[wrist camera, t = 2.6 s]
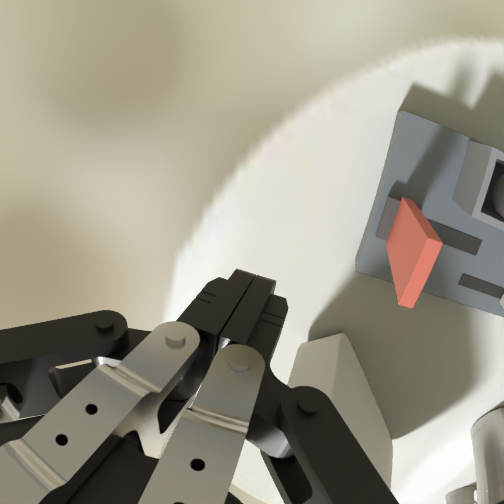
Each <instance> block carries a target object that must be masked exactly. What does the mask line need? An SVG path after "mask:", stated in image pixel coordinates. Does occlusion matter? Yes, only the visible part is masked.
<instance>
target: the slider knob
mask: <svg viewBox="0 0 504 504" xmlns="http://www.w3.org/2000/svg"><path fill="white" fill-rule="evenodd" d="M499 302H500V303H501V305H502V307H503V308H504V294H503V296H502V298H501V299H500V301H499Z"/></svg>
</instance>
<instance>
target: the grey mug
mask: <svg viewBox="0 0 504 504" xmlns="http://www.w3.org/2000/svg"><path fill="white" fill-rule="evenodd" d="M474 490H475V487H474V486H467V487H463V488H459V489H456V490H454V491H451V492H450V493H448V494H447V495H446V496H445V498H446V501H447V502H446V504H478V503H477V502H476V501H474Z"/></svg>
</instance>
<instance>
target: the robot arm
mask: <svg viewBox="0 0 504 504" xmlns="http://www.w3.org/2000/svg"><path fill="white" fill-rule="evenodd" d="M275 286H276V281H275V280H272V279H269V278H265V277H262V276H259V275H257V276H256V275H255V274H252V273H249V272H246V271H243V270H239V269H236V270H235V271H234V273H233V274H232V275H231V277H230V278H229V279H228V280H226V279H223V278H220V277H219V278H216V279H214V280H212V281H210V282H208V283H207V284H206V286H205V287H204V288H203V289H202V291H201V292H200V293H199V294H198V295H197V296H196V299H194V300H193V301H192V302H191V304H190V305H189V306H188V307H187V308H186V310H185V311H184V312H183V313H182V314H181V316H180V317H179V318H178V319H177V320H176V321H172V322H166V323H163V324H161V325H159V326H158V327H157V328H155V329H154V330H153V331H143V330H137V329H131V328H128V326H127V321H126V319H125V318H124V317H123V316H122V315H121V314H119V313H118V312H115V311H111V310H103V311H97V312H92V313H87V314H82V315H77V316H72V317H67V318H62V319H57V320H52V321H46V322H41V323H36V324H31V325H25V326H20V327H14V328H9V329H3V330H0V504H243V503H242V502H240V500H239V499H238V498H237V497H235V496H234V495H233V494H232V493H230V492H229V491H228V490H229V487H230V484H231V481H232V478H233V475H234V472H235V469H236V466H237V463H238V460H239V457H240V453H241V450H242V447H243V444H244V440H245V439H246V440H248V441H249V442H251V443H252V444H254V445H255V446H256V447H258V448H259V449H260V452H261V455H262V458H263V460H264V462H265V464H266V466H267V468H268V470H269V472H270V475H271V477H272V479H273V481H274V483H275V485H276V487H277V489H278V491H279V493H280V495H281V497H282V499H283V501H284V503H285V504H399V503H398V501H397V500H396V498H395V497H394V495H393V494H392V492H391V491H390V489H389V488H388V486H387V485H386V483H385V482H384V480H383V479H382V477H381V476H380V474H379V473H378V471H377V470H376V468H375V467H374V465H373V464H372V462H371V461H370V459H369V458H368V456H367V455H366V453H365V452H364V450H363V449H362V447H361V446H360V444H359V443H358V441H357V440H356V438H355V436H354V435H353V433H352V432H351V430H350V429H349V427H348V426H347V424H346V423H345V421H344V420H343V418H342V417H341V415H340V413H339V412H338V410H337V409H336V407H335V406H334V404H333V403H332V401H331V400H330V398H329V397H328V396H327V395H326V394H325V393H324V392H322V391H321V390H319V389H317V388H314V387H310V386H297V387H294V388H290V387H289V386H287V385H285V384H284V383H282V382H281V381H280V380H278V379H277V378H276V377H275V375H274V374H273V372H272V371H271V368H270V362H271V359H272V356H273V354H274V351H275V348H276V346H277V343H278V340H279V337H280V334H281V331H282V328H283V324H284V321H285V318H286V315H287V311H288V305H287V301H286V298H283V297H280V296H277V295H274V290H275ZM88 359H91V360H92V362H91V363H87V364H83V365H78V366H73V367H68V368H64V369H58V368H55V366H60V365H65V364H69V363H74V362H79V361H83V360H88ZM202 382H203V383H202ZM201 383H202V385H201ZM200 385H201V387H200ZM199 387H200V389H199V391H198V393H197V396H196V392H197V390H198V388H199ZM195 397H196V398H195ZM194 399H195V400H194ZM193 401H194V402H193ZM192 402H193V404H192ZM191 404H192V406H191V407H190V405H191ZM189 407H190V408H189ZM42 414H46V415H42ZM37 415H41V416H37ZM30 416H37V417H31V418H26V419H22V420H18V418H24V417H30ZM175 426H176V427H175ZM174 427H175V429H174ZM173 429H174V431H173V433H172V435H171V437H170V439H169V441H168V443H167V446H166V448H165V450H164V452H163V454H162V456H161V458H160V459H158V457H159V455H160V453H161V451H162V448H163V444H164V442H165V440H166V438H167V437H168V435H169V434H170V433H171V431H172V430H173ZM471 437H472V444H473V452H474V461H475V471H476V483H477V500H478V504H504V407H502V408H498V409H496V410H493V411H491V412H489V413H488V414H486V415H484V416H483V417H482V418H480V419H479V420H478V421H477V422H476V423H475V424H474V425H473V427H472V429H471Z"/></svg>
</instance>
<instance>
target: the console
mask: <svg viewBox="0 0 504 504" xmlns="http://www.w3.org/2000/svg"><path fill="white" fill-rule="evenodd" d="M503 174H504V152H502V151H500V150H498V149H496V148H494V147H492V146H488V145H484V144H482V143H480V142H478V141H476V140H474V139H472V138H469V137H467V136H465V135H463V134H461V133H458V132H456V131H454V130H452V129H449V128H447V127H445V126H442V125H440V124H437V123H435V122H432V121H430V120H427V119H425V118H422V117H419V116H417V115H414V114H411V113H408V112H405V111H399V112H397V116H396V121H395V125H394V129H393V134H392V138H391V142H390V146H389V150H388V154H387V158H386V161H385V165H384V169H383V172H382V176H381V180H380V183H379V187H378V190H377V193H376V197H375V200H374V203H373V207H372V210H371V213H370V216H369V219H368V223H367V226H366V229H365V232H364V235H363V238H362V241H361V244H360V247H359V249H358V252H357V255H356V271H357V272H360V273H363V274H367V275H370V276H373V277H376V278H380V279H383V280H386V281H390V282H393V283H394V280H393V275H392V271H391V266H390V262H389V257H388V253H387V249H386V243H387V241H386V240H383V239H380V238H377V237H376V231H377V228H378V225H379V222H380V219H381V216H382V213H383V209H384V206H385V203H386V200H387V197H388V195H391V196H394V197H397V198H400V199H402V197H405V198H408V199H410V200H413V201H414V202H415V204H417V205H420V206H421V208H422V211H421V212H422V213H423V215H424V216H425V218H426V219H427V220H428V222H429V223H430V225H431V226H432V228H433V229H434V231H435V232H436V234H437V235H438V237H439V238H440V240H441V241H442V243H443V244H442V246H441V249H440V251H439V254H438V256H437V258H436V261H435V263H434V265H433V267H432V270H431V272H430V274H429V276H428V278H427V280H426V283H425V285H424V287H423V289H422V292H425V293H429V294H432V295H435V296H438V297H441V298H445V299H448V300H451V301H454V302H457V303H461V304H464V305H467V306H470V307H473V308H476V309H479V310H483V311H486V312H489V313H492V314H495V315H498V316H501V317H504V308H503V307H502V305H501V303H500V302H499V301H500V299H501V298H502V296H503V294H504V218H503V217H502V216H501V215H500V214H499V213H498V212H497V211H496V209H495V207H494V204H493V199H492V194H493V188H494V185H495V183H496V181H497V180H498V178H499V177H500V176H501V175H503Z"/></svg>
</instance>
